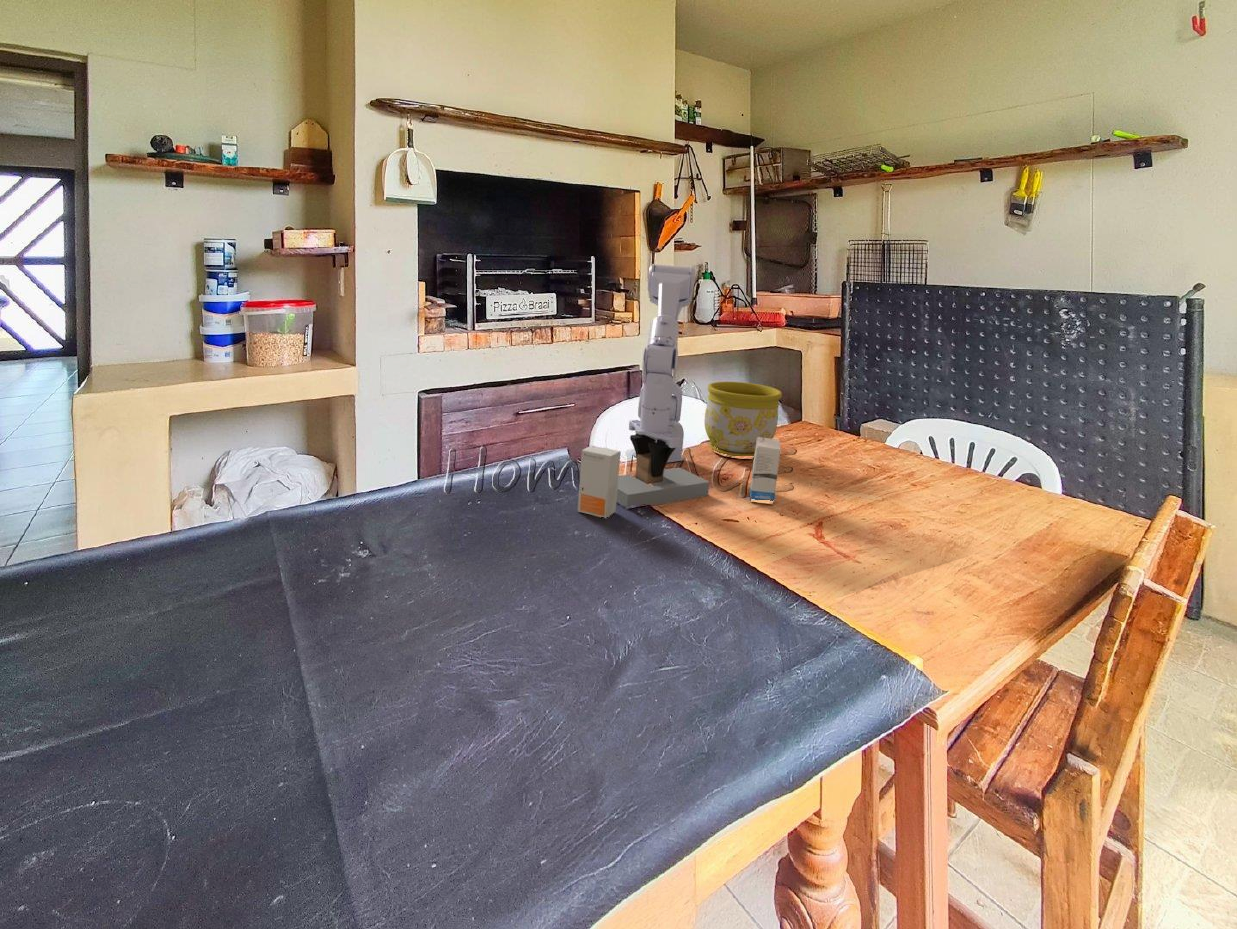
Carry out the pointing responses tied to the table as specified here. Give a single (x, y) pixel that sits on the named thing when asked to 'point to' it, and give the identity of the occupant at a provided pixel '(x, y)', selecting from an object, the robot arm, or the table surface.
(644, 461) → the block
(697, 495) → the notched board
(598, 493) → the skincare box
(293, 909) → the table surface
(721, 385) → the flowerpot
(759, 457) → the ink box
